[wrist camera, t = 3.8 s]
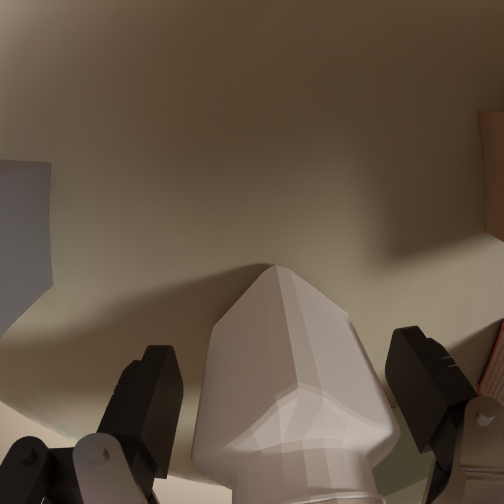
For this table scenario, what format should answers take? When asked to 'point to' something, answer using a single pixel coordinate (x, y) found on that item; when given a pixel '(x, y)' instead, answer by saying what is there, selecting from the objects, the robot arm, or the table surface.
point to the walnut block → (493, 170)
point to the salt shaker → (291, 401)
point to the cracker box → (494, 372)
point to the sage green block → (403, 469)
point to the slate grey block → (23, 237)
